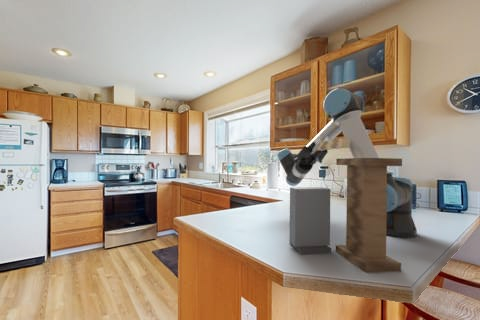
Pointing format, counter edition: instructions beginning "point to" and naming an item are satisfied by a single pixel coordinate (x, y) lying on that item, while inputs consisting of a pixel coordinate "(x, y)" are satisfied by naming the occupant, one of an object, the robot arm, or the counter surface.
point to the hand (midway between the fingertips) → (323, 139)
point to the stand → (367, 214)
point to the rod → (333, 144)
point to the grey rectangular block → (310, 220)
